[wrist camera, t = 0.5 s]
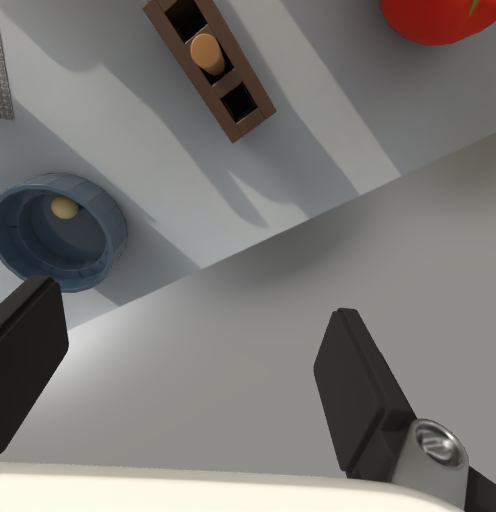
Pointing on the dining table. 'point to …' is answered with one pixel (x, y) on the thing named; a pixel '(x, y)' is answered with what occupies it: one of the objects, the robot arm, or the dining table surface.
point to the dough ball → (64, 207)
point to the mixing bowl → (60, 232)
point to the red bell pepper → (438, 19)
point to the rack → (167, 23)
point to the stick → (208, 55)
